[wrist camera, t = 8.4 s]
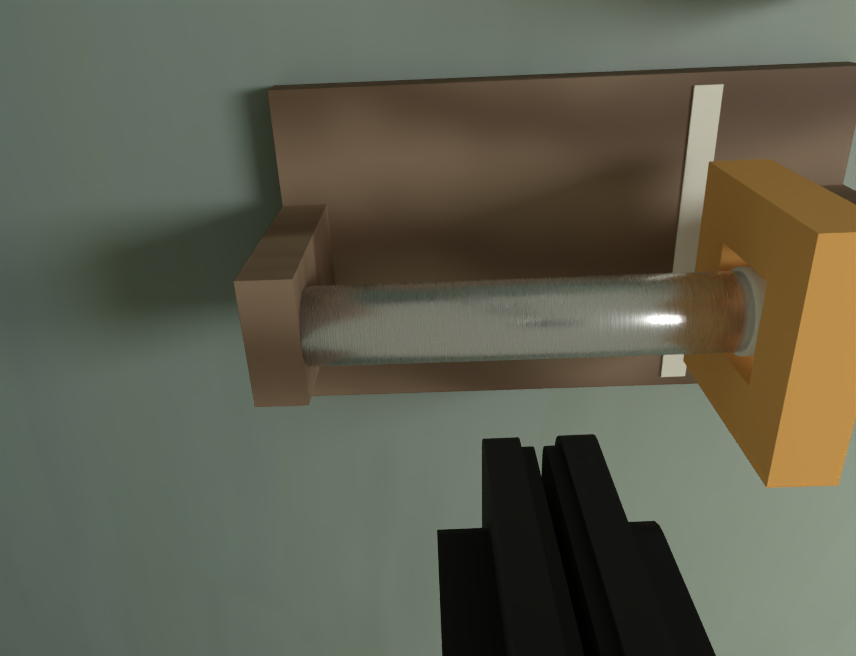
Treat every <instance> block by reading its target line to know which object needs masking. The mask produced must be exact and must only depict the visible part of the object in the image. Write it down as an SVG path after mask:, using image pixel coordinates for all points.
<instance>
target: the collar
mask: <svg viewBox="0 0 856 656" xmlns="http://www.w3.org/2000/svg"><path fill="white" fill-rule="evenodd" d="M740 266H750V267H751V268H753V269H754V270H755V271H756V272H757V273H758V274H759V275H760V276H761V277H762V278H764V279H765V280H766V281H767V286H766V292H765V298H764V303H763V309H762V314H761V320H760V326H759V331H758V337H757V343H756V348H755V354H754V356H737V355H735V354H734V353H706V354H684V358H683V361H684V363H685V364H686V366H687V367H688V369H689V371H690V372H691V374H692V375H693V377H694V378H695V380H696V381H697V383H698V384H699V386H700V387H701V389H702V390H703V392H704V393H705V395H706V396H707V398H708V399H709V401H710V402H711V404H712V405H713V407H714V408H715V410H716V412H717V413H718V415H719V416H720V418H721V419H722V421H723V422H724V424H725V425H726V427H727V428H728V430H729V431H730V433H731V434H732V436H733V437H734V439H735V440H736V442H737V443H738V445H739V446H740V448H741V449H742V451H743V453H744V454H745V456H746V457H747V459H748V460H749V462H750V463H751V465H752V466H753V468H754V469H755V471H756V472H757V474H758V475H759V477H760V478H761V480H762V481H763V483H764V484H765V486H766V487H767V488H772V487H805V486H838V485H839V481H840V477H841V473H842V469H843V465H844V461H845V457H846V454H847V450H848V446H849V442H850V438H851V434H852V430H853V426H854V423H855V419H856V205H855V204H853V203H852V202H850V201H848V200H846V199H844V198H842V197H840V196H838V195H837V194H835V193H833V192H831V191H829V190H827V189H825V188H823V187H822V186H820V185H818V184H816V183H814V182H812V181H810V180H809V179H807V178H805V177H803V176H801V175H799V174H797V173H795V172H794V171H792V170H790V169H788V168H786V167H784V166H782V165H780V164H779V163H777V162H775V161H773V160H771V159H756V160H731V161H709V165H708V173H707V180H706V188H705V196H704V204H703V211H702V219H701V227H700V235H699V242H698V250H697V258H696V265H695V272H715V271H731V270H732V269H733V268H734V267H740Z"/></svg>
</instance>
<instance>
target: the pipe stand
mask: <svg viewBox="0 0 856 656" xmlns="http://www.w3.org/2000/svg"><path fill="white" fill-rule="evenodd" d="M267 91H268V99H269V106H270V114H271V122H272V129H273V137H274V144H275V152H276V160H277V167H278V175H279V182H280V190H281V198H282V205H283V206H282V208H281V209H280V211H279V212H278V214H277V215H276V217H275V218H274V220H273V221H272V223H271V225H270V226H269V228H268V229H267V231H266V232H265V234H264V235H263V237H262V238H261V240H260V241H259V243H258V245H257V246H256V248H255V249H254V251H253V252H252V254H251V255H250V257H249V258H248V260H247V261H246V263H245V265H244V266H243V268H242V269H241V271H240V272H239V274H238V275H237V277H236V278H235V280H234V287H235V293H236V299H237V305H238V311H239V317H240V323H241V328H242V334H243V340H244V346H245V352H246V358H247V364H248V370H249V376H250V381H251V387H252V393H253V399H254V405H255V407H270V406H300V405H309V403H310V399H311V396H327V395H358V394H389V393H419V392H450V391H480V390H511V389H542V388H572V387H603V386H633V385H664V384H695V383H697V381H696V380H695V378H694V377H693V375H692V374H691V372H690V371H689V369H688V367H687V366H686V364H685V363H684V361H683V358H684V354H706V353H734V354H735V355H737V356H754V354H755V348H756V343H757V337H758V331H759V326H760V320H761V314H762V309H763V303H764V298H765V292H766V286H767V281H766V280H765V279H764V278H762V277H761V276H760V275H759V274H758V273H757V272H756V271H755V270H754V269H753V268H751V267H750V266H740V267H734V268H733V269H732V270H731V271H715V272H695V265H696V258H697V250H698V242H699V235H700V227H701V219H702V211H703V204H704V196H705V188H706V180H707V173H708V165H709V161H731V160H756V159H771V160H773V161H775V162H777V163H779V164H780V165H782V166H784V167H786V168H788V169H790V170H792V171H794V172H795V173H797V174H799V175H801V176H803V177H805V178H807V179H809V180H810V181H812V182H814V183H816V184H818V185H820V186H822V187H823V188H825V189H827V190H829V191H831V192H833V193H835V194H837V195H838V196H840V197H842V198H844V199H846V200H848V201H850V202H852V203H853V204H855V205H856V191H855V190H853V189H851V188H849V187H847V186H845V185H843V181H844V177H845V172H846V167H847V163H848V158H849V153H850V148H851V144H852V139H853V134H854V130H855V125H856V63H853V62H830V63H806V64H782V65H758V66H734V67H710V68H686V69H662V70H638V71H614V72H590V73H566V74H542V75H518V76H495V77H471V78H447V79H423V80H399V81H375V82H351V83H327V84H303V85H279V86H273V87H272V88H270V89H269V90H267Z"/></svg>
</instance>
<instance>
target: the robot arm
mask: <svg viewBox="0 0 856 656" xmlns="http://www.w3.org/2000/svg"><path fill="white" fill-rule="evenodd" d="M437 536H438V561H439V585H440V609H441V633H442V656H716V655H715V653H714V650H713V648H712V646H711V643H710V641H709V639H708V636H707V634H706V632H705V629H704V627H703V625H702V622H701V620H700V618H699V615H698V613H697V610H696V608H695V606H694V603H693V601H692V599H691V596H690V594H689V592H688V589H687V587H686V585H685V582H684V580H683V578H682V575H681V573H680V571H679V568H678V566H677V564H676V561H675V559H674V557H673V554H672V552H671V550H670V547H669V545H668V543H667V540H666V538H665V536H664V533H663V531H662V530H661V528H660V526H659V525H658V524H657V523H656V522H655V521H643V522H628V520H627V518H626V515H625V512H624V510H623V507H622V504H621V502H620V499H619V496H618V494H617V491H616V488H615V486H614V483H613V480H612V478H611V475H610V472H609V470H608V467H607V464H606V462H605V459H604V456H603V453H602V451H601V448H600V445H599V443H598V440H597V438H596V436H595V435H594V434H589V435H565V436H557V438H556V442H555V446H544V448H543V455H542V477H541V474H540V470H539V465H538V461H537V457H536V453H535V449H534V447H533V446H532V447H521V443H520V439H519V438H518V437H516V438H491V439H483V440H482V528H471V529H446V530H437Z"/></svg>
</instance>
